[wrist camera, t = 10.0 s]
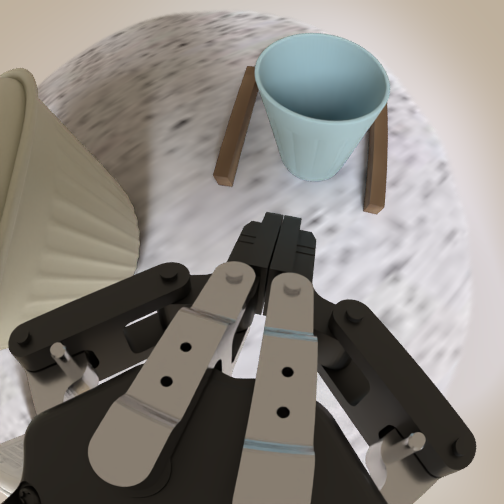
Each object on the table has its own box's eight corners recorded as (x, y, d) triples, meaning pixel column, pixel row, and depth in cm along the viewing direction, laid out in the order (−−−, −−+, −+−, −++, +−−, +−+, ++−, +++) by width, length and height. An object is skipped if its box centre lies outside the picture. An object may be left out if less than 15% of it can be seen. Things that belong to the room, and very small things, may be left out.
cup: (266, 118, 24) (254, 33, 14) (349, 118, 23) (372, 37, 13) (268, 194, 23) (254, 123, 13) (360, 193, 22) (404, 128, 12)
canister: (149, 134, 26) (19, -18, 5) (203, 313, 22) (-92, 348, 2) (30, 210, 27) (-104, 153, 6) (56, 360, 23) (-112, 384, 3)
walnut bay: (218, 184, 24) (212, 175, 22) (249, 78, 25) (247, 66, 23) (376, 214, 22) (384, 207, 20) (381, 100, 23) (386, 89, 21)
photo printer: (42, 452, 22) (-19, 481, 10) (33, 425, 23) (-34, 449, 11) (98, 475, 21) (34, 523, 9) (88, 446, 22) (15, 489, 10)
